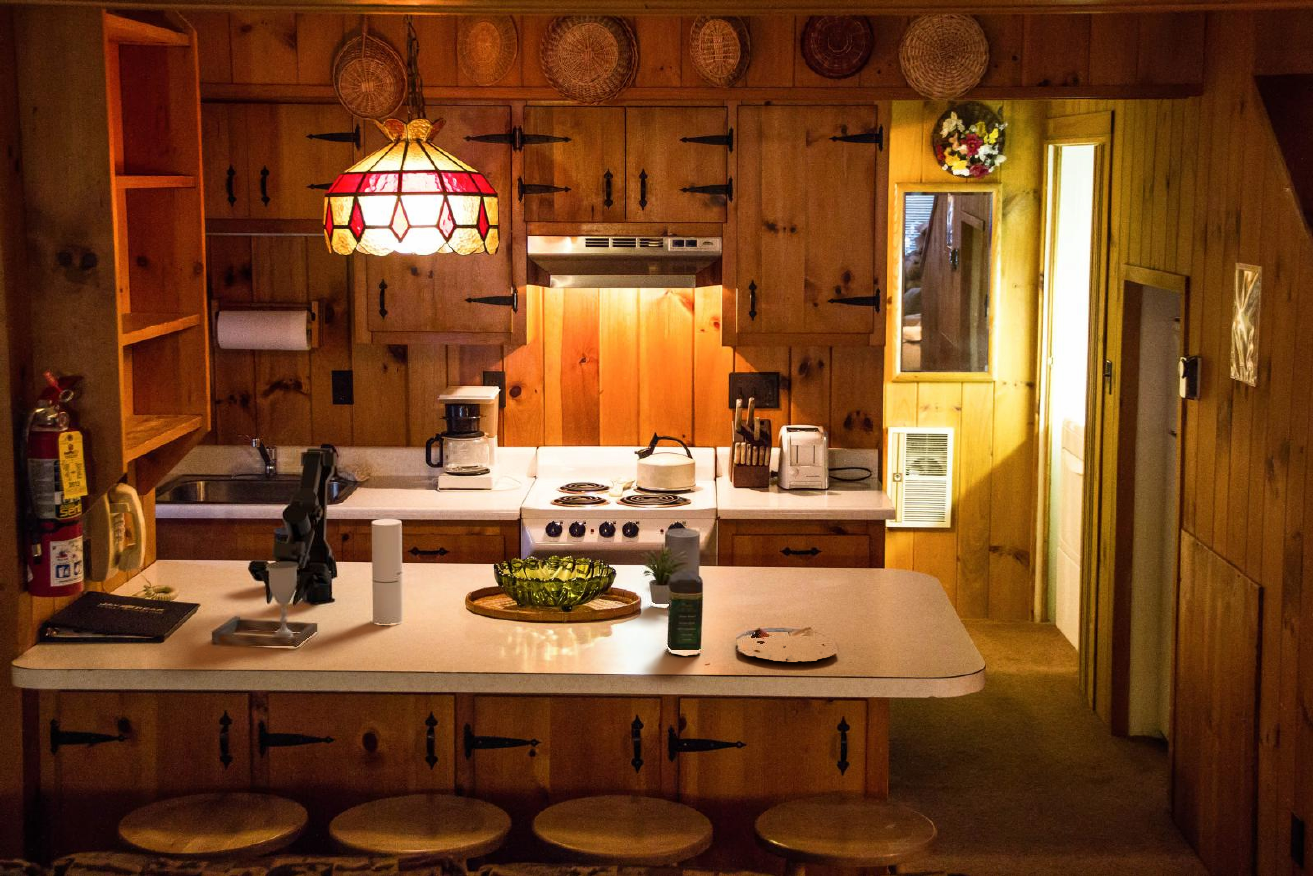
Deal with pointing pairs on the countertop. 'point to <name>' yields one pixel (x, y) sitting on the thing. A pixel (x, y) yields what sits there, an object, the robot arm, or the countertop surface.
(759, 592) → the countertop surface
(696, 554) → the pillar candle
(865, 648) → the countertop surface
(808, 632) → the food plate
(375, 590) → the cylindrical container
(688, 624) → the coffee jar
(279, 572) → the chalice
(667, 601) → the house plant
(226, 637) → the rectangular frame
